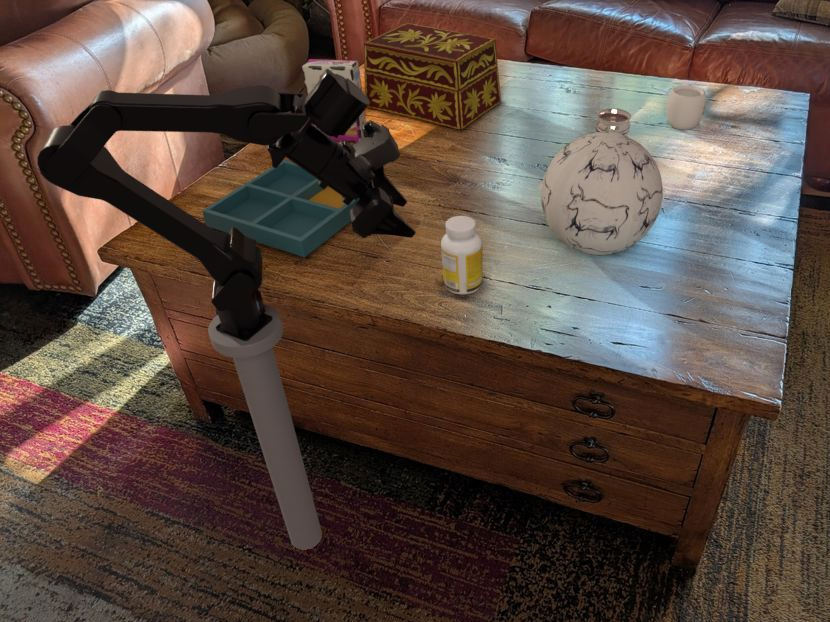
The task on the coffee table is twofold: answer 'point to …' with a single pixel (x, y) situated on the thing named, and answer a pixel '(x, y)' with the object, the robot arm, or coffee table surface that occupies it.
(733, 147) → the coffee table surface
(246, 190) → the tray
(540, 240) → the coffee table surface
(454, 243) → the pill bottle
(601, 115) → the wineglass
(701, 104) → the mug
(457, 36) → the decorative box
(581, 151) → the decorative sphere
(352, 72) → the candy bar box
